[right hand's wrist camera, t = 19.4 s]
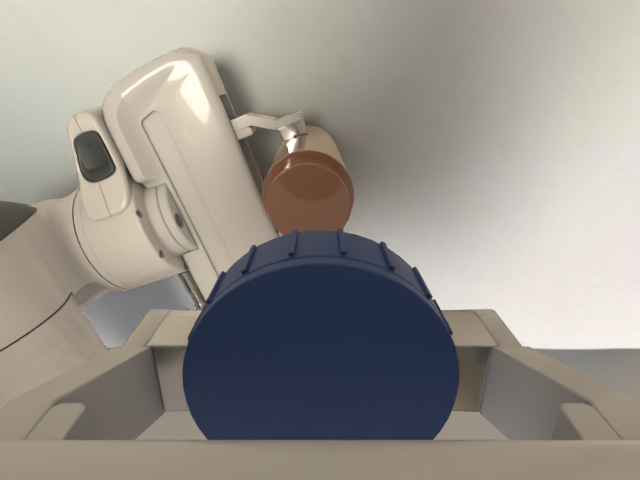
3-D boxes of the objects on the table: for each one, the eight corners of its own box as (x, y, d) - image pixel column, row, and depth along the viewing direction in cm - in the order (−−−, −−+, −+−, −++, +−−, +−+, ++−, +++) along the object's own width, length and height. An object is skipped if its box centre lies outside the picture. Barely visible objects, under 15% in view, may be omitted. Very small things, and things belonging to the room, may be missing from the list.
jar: (273, 176, 35) (250, 239, 21) (286, 118, 33) (269, 144, 19) (329, 189, 36) (342, 259, 22) (344, 133, 34) (369, 169, 20)
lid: (462, 387, 11) (492, 447, 9) (261, 447, 11) (250, 514, 10) (398, 188, 9) (418, 215, 7) (159, 278, 9) (122, 322, 8)
